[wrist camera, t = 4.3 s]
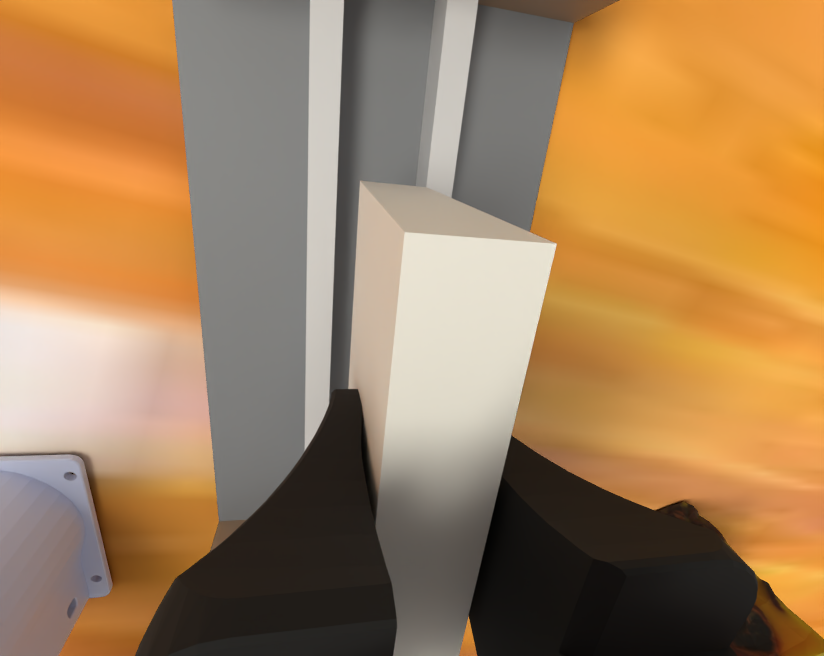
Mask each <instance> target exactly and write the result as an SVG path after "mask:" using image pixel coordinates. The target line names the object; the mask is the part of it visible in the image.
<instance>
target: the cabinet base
mask: <svg viewBox="0 0 824 656" xmlns="http://www.w3.org/2000/svg"><path fill="white" fill-rule="evenodd" d="M617 1H619V0H172V2H173V13H174V24H175V36H176V47H177V58H178V69H179V80H180V91H181V102H182V114H183V125H184V136H185V147H186V158H187V169H188V180H189V192H190V203H191V214H192V225H193V236H194V247H195V258H196V270H197V281H198V292H199V303H200V314H201V325H202V337H203V348H204V359H205V370H206V381H207V392H208V403H209V415H210V426H211V437H212V448H213V459H214V470H215V481H216V493H217V504H218V515H219V523H218V527H217V530H216V534H215V537H214V540H213V544H212V547H211V551H212V550H213V549H214V548H216V547H217V546H218V545H219V544H221V543H222V542H223V541H224V540H225V539H226V538H228V537H229V536H230V535H231V534H232V533H233V532H234V531H235V530H236V529H237V528H238V527H239V526H240V525H241V524H243V523H244V522H245V521H246V520H247V519H248V518H249V517H250V516H251V515H252V514H253V513H254V512H255V511H256V510H257V509H258V508H259V507H260V506H261V505H262V504H263V503H264V502H265V501H266V500H267V499H268V498H269V497H270V495H271V494H272V493H273V492H274V491H275V490H276V489H277V487H278V486H279V485H280V484H281V483H282V482H283V480H284V479H285V478H286V477H287V475H288V474H289V473H290V471H291V470H292V469H293V468H294V466H295V465H296V463H297V462H298V461H299V459H300V458H301V456H302V455H303V453H304V452H305V450H306V448H307V447H308V445H309V443H310V442H311V440H312V439H313V437H314V435H315V434H316V432H317V430H318V428H319V426H320V424H321V422H322V420H323V418H324V416H325V413H326V411H327V408H328V406H329V403H330V399H331V393H332V392H333V391H334V390H335V389H348V386H349V368H350V350H351V333H352V315H353V297H354V280H355V262H356V244H357V226H358V209H359V191H360V181H369V182H379V183H389V184H399V185H409V186H419V187H427V188H430V189H432V190H434V191H436V192H439V193H441V194H443V195H446V196H448V197H450V198H453V199H455V200H457V201H459V202H462V203H464V204H466V205H469V206H471V207H473V208H476V209H478V210H480V211H482V212H485V213H487V214H489V215H492V216H494V217H496V218H499V219H501V220H503V221H505V222H508V223H510V224H512V225H515V226H517V227H519V228H522V229H524V230H526V231H528V232H530V228H531V224H532V219H533V214H534V209H535V205H536V200H537V195H538V190H539V186H540V181H541V176H542V171H543V167H544V162H545V157H546V152H547V148H548V143H549V138H550V133H551V129H552V124H553V119H554V114H555V110H556V105H557V100H558V95H559V91H560V86H561V81H562V76H563V72H564V67H565V62H566V57H567V53H568V48H569V43H570V38H571V34H572V29H573V24H574V23H575V22H577V21H579V20H581V19H583V18H585V17H587V16H589V15H591V14H593V13H595V12H597V11H599V10H601V9H603V8H605V7H607V6H609V5H611V4H613V3H615V2H617ZM211 551H210V552H211Z"/></svg>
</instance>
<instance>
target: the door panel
mask: <svg viewBox="0 0 824 656" xmlns="http://www.w3.org/2000/svg"><path fill="white" fill-rule="evenodd" d="M556 245H557V244H556V243H554V242H551V241H549V240H547V239H545V238H542V237H540V236H538V235H535V234H533V233H531V232H528V231H526V230H524V229H522V228H519V227H517V226H515V225H512V224H510V223H508V222H505V221H503V220H501V219H499V218H496V217H494V216H492V215H489V214H487V213H485V212H482V211H480V210H478V209H476V208H473V207H471V206H469V205H466V204H464V203H462V202H459V201H457V200H455V199H453V198H450V197H448V196H446V195H443V194H441V193H439V192H436V191H434V190H432V189H430V188H427V187H419V186H409V185H399V184H389V183H379V182H369V181H360V191H359V209H358V226H357V244H356V262H355V280H354V297H353V315H352V333H351V350H350V368H349V386H348V389H358V391H359V395H360V399H361V404H362V429H361V452H362V462H363V467H364V473H365V479H366V485H367V490H368V495H369V500H370V505H371V510H372V514H373V518H374V523H375V527H376V531H377V535H378V539H379V542H380V546H381V549H382V553H383V557H384V560H385V564H386V567H387V570H388V573H389V576H390V579H391V582H392V588H393V595H394V602H395V609H396V616H397V632H396V639H395V646H394V653H393V656H459V653H460V649H461V645H462V641H463V636H464V632H465V628H466V624H467V620H468V615H469V611H470V607H471V603H472V598H473V594H474V590H475V586H476V582H477V577H478V573H479V569H480V565H481V561H482V556H483V552H484V548H485V544H486V540H487V535H488V531H489V527H490V523H491V519H492V514H493V510H494V506H495V502H496V497H497V493H498V489H499V485H500V481H501V476H502V472H503V468H504V464H505V460H506V455H507V451H508V447H509V443H510V439H511V434H512V430H513V426H514V422H515V418H516V413H517V409H518V405H519V401H520V397H521V392H522V388H523V384H524V380H525V375H526V371H527V367H528V363H529V359H530V354H531V350H532V346H533V342H534V338H535V333H536V329H537V325H538V321H539V317H540V312H541V308H542V304H543V300H544V296H545V291H546V287H547V283H548V279H549V275H550V270H551V266H552V262H553V258H554V253H555V249H556Z"/></svg>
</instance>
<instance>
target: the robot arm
mask: <svg viewBox="0 0 824 656" xmlns="http://www.w3.org/2000/svg"><path fill="white" fill-rule="evenodd" d="M361 429H362V404H361V399H360V395H359V391H358V389H335V390H334V391H333V392H332V393H331V399H330V403H329V406H328V408H327V411H326V413H325V416H324V418H323V420H322V422H321V424H320V426H319V428H318V430H317V432H316V434H315V435H314V437H313V439H312V440H311V442H310V443H309V445H308V447H307V448H306V450H305V452H304V453H303V455H302V456H301V458H300V459H299V461H298V462H297V463H296V465H295V466H294V468H293V469H292V470H291V471H290V473H289V474H288V475H287V477H286V478H285V479H284V480H283V482H282V483H281V484H280V485H279V486H278V487H277V489H276V490H275V491H274V492H273V493H272V494H271V495H270V497H269V498H268V499H267V500H266V501H265V502H264V503H263V504H262V505H261V506H260V507H259V508H258V509H257V510H256V511H255V512H254V513H253V514H252V515H251V516H250V517H249V518H248V519H247V520H246V521H245V522H244V523H243V524H241V525H240V526H239V527H238V528H237V529H236V530H235V531H234V532H233V533H232V534H231V535H230V536H229V537H228V538H226V539H225V540H224V541H223V542H222V543H221V544H219V545H218V546H217V547H216V548H214V549H213V550H212V551H211V552H209V553H208V554H207V555H205V556H204V557H203V558H202V559H200V560H199V561H198V562H197V563H195V564H194V565H193V566H191V567H190V568H189V569H188V570H186V571H185V572H184V573H182V574H181V575H179V576H178V577H177V578H176V579H175V580H174V582H173V583H172V585H171V587H170V588H169V590H168V592H167V593H166V595H165V597H164V599H163V600H162V602H161V604H160V606H159V607H158V609H157V611H156V613H155V615H154V617H153V619H152V621H151V623H150V625H149V627H148V629H147V631H146V633H145V635H144V637H143V639H142V641H141V643H140V645H139V648H138V650H137V652H136V655H135V656H393V653H394V646H395V639H396V632H397V616H396V609H395V602H394V595H393V588H392V582H391V579H390V576H389V573H388V570H387V567H386V564H385V560H384V557H383V553H382V549H381V546H380V542H379V539H378V535H377V531H376V527H375V523H374V518H373V514H372V510H371V505H370V500H369V495H368V490H367V485H366V479H365V473H364V467H363V462H362V452H361ZM69 472H73V473H74V474H76V475H73V474H71V473H69ZM112 587H113V584H112V579H111V575H110V571H109V567H108V563H107V558H106V554H105V550H104V546H103V541H102V537H101V533H100V529H99V524H98V520H97V516H96V512H95V507H94V503H93V499H92V495H91V490H90V486H89V482H88V478H87V473H86V469H85V465H84V462H83V460H82V459H81V458H80V457H79V456H76V455H35V456H1V457H0V656H58V655H59V654H60V652H61V650H62V648H63V646H64V644H65V642H66V640H67V638H68V637H69V635H70V633H71V631H72V629H73V627H74V625H75V623H76V621H77V620H78V618H79V616H80V614H81V612H82V610H83V608H84V606H85V604H86V603H87V601H88V599H89V598H96V597H103V596H106V595H108V594H109V593H110V591H111V589H112ZM757 590H758V582H757V579H756V576H755V573H754V571H753V570H752V569H751V568H750V567H749V566H748V565H747V564H746V563H745V562H744V561H743V560H742V559H741V558H740V557H739V556H738V555H737V554H736V553H735V552H734V551H733V550H732V549H731V548H730V547H729V546H728V545H727V544H726V543H725V542H724V541H723V540H722V539H721V538H720V537H719V536H718V535H717V534H716V533H715V532H714V531H713V530H710V529H707V528H704V527H701V526H698V525H695V524H692V523H689V522H686V521H683V520H680V519H677V518H674V517H671V516H668V515H665V514H662V513H660V512H657V511H654V510H652V509H649V508H647V507H644V506H642V505H639V504H637V503H634V502H632V501H629V500H627V499H624V498H622V497H620V496H618V495H615V494H613V493H611V492H609V491H606V490H604V489H602V488H600V487H598V486H596V485H594V484H592V483H590V482H588V481H586V480H584V479H582V478H580V477H578V476H576V475H574V474H572V473H570V472H568V471H567V470H565V469H563V468H561V467H560V466H558V465H556V464H554V463H553V462H551V461H549V460H548V459H546V458H544V457H543V456H541V455H539V454H538V453H536V452H535V451H533V450H532V449H530V448H529V447H527V446H526V445H524V444H523V443H522V442H520V441H519V440H517V439H516V438H514V437H513V436H512V435H511V439H510V443H509V447H508V451H507V455H506V460H505V464H504V468H503V472H502V476H501V481H500V485H499V489H498V493H497V497H496V502H495V506H494V510H493V514H492V519H491V523H490V527H489V531H488V535H487V540H486V544H485V548H484V552H483V556H482V561H481V565H480V569H479V573H478V577H477V582H476V586H475V590H474V594H473V598H472V603H471V607H470V611H469V619H470V623H471V628H472V633H473V637H474V642H475V647H476V651H477V656H737V654H736V653H735V652H734V651H733V649H732V648H731V647H730V645H731V643H732V641H733V640H734V638H735V637H736V635H737V633H738V632H739V630H740V628H741V627H742V625H743V624H744V622H745V620H746V619H747V617H748V615H749V614H750V612H751V610H752V608H753V606H754V604H755V601H756V598H757Z"/></svg>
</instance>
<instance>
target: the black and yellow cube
mask: <svg viewBox="0 0 824 656" xmlns="http://www.w3.org/2000/svg"><path fill="white" fill-rule="evenodd" d="M657 512H660V513H662V514H665V515H668V516H671V517H674V518H677V519H680V520H683V521H686V522H689V523H692V524H695V525H698V526H701V527H704V528H707V529H710V530H713V531H714V532H715V533H716V534H717V535H718V536H719V537H720V538H721V539H722V540H723V541H724V542H725V543H726V544H727V542H726V540H725V539H724V537H723V536H722V534H721V533H720V532H719V531H718V529H716V528H715V527H714V526H713V525H712V524H711V523H710V522H709V521H707V520H705V519H704V518H702V517H701V516H699V514H698V511H697V510H696V509H695V508H694V506H692V505H689V504H687V503H685V502H681V503H677V504H674V505H671V506H668V507H666V508H663V509H661V510H658V511H657ZM727 545H728V544H727ZM728 546H729V545H728ZM729 547H730V546H729ZM730 548H731V547H730ZM731 549H732V548H731ZM732 550H733V549H732ZM733 551H734V550H733ZM755 576H756V579H757V582H758V590H757V598H756V601H755V604H754V606H753V608H752V610H751V612H750V614H749V615H748V617H747V619H746V620H745V622H744V624H743V625H742V627H741V628H740V630H739V632H738V633H737V635H736V637H735V638H734V640H733V641H732V643H731V645H730V647H731V648H732V649H733V651H734V652H735V653H736V654H737V656H824V639H823V638H822V637H821V636H820V635H819V634H818V633H816V632H815V631H814V630H813V629H812V628H811V627H810V626H808V625H807V624H806V623H805V622H804V621H803V620H801V619H800V618H799V617H798V616H797V615H796V614H794V613H793V612H792V611H791V610H790V609H788V608H787V607H786V606H785V605H784V603H783V602H782V601H781V600H780V599H779V598H778V597H777V596H776V595H775V594H774V592H773V591H772V589H771V587H770V585H769V584H768V583H767V582H765V581H763V580H761V579H760V578H759V577H758V576H757V575H756V574H755Z"/></svg>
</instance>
